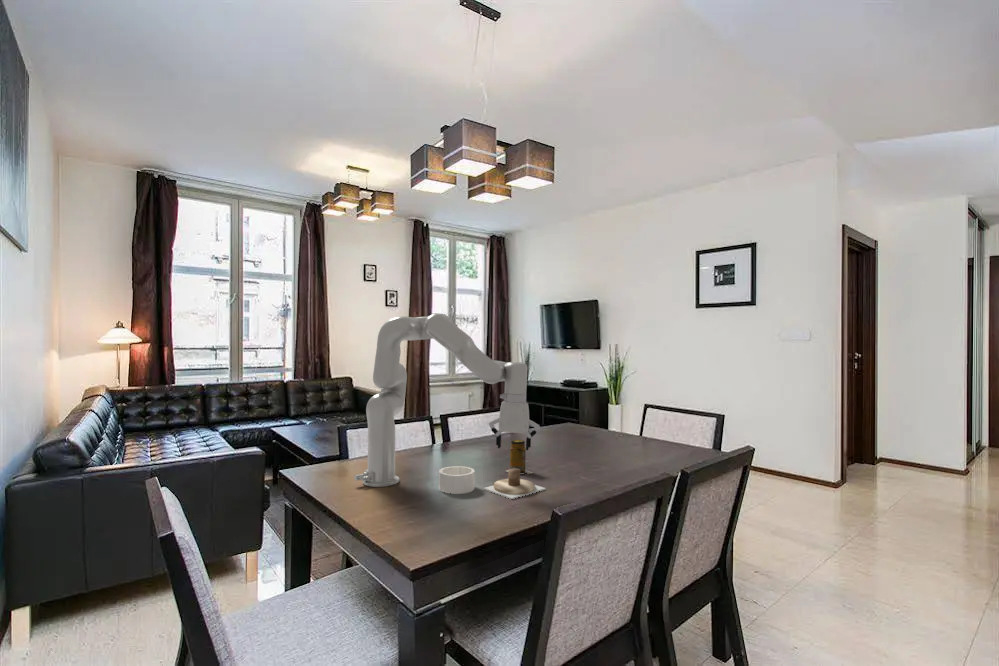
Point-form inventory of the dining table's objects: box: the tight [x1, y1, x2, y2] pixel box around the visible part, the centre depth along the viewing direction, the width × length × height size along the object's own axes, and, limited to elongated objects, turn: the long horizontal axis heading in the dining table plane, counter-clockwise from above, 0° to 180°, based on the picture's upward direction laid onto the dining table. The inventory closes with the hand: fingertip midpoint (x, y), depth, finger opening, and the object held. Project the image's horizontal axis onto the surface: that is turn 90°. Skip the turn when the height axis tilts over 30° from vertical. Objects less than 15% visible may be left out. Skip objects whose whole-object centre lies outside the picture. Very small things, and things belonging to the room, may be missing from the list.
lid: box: [493, 468, 536, 494], centre depth 171 cm, size 14×14×6 cm
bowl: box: [438, 465, 476, 495], centre depth 172 cm, size 12×12×6 cm
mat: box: [482, 484, 547, 500], centre depth 171 cm, size 16×14×1 cm
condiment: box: [505, 439, 534, 475], centre depth 194 cm, size 7×8×12 cm
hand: (513, 448), depth 171 cm, fingers open, 9 cm apart
